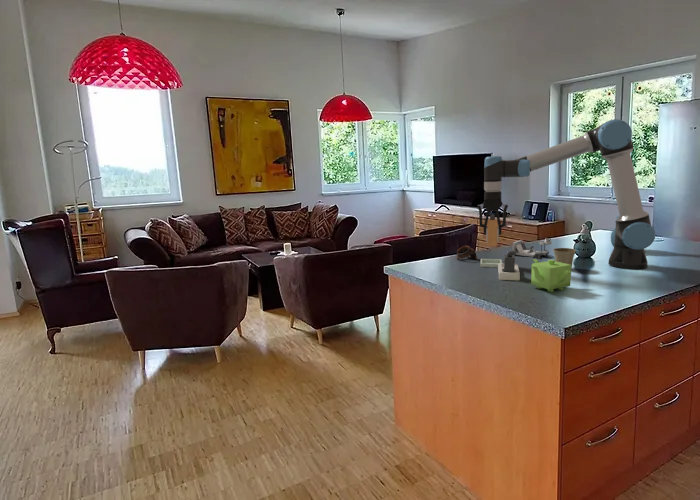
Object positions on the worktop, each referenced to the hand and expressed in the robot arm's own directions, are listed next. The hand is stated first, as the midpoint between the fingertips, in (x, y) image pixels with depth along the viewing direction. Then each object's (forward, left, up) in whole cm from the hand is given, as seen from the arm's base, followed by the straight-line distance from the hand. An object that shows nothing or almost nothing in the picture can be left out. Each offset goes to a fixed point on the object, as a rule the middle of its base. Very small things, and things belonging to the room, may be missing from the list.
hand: (492, 241), depth 220 cm
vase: (-68, -43, -12) cm, 81 cm away
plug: (0, 0, -2) cm, 2 cm away
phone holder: (-20, -26, -12) cm, 35 cm away
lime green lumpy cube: (-21, +36, -12) cm, 43 cm away
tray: (0, 0, -11) cm, 11 cm away
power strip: (-7, +17, -11) cm, 22 cm away
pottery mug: (+12, -12, -12) cm, 20 cm away
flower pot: (-31, +2, -12) cm, 33 cm away
